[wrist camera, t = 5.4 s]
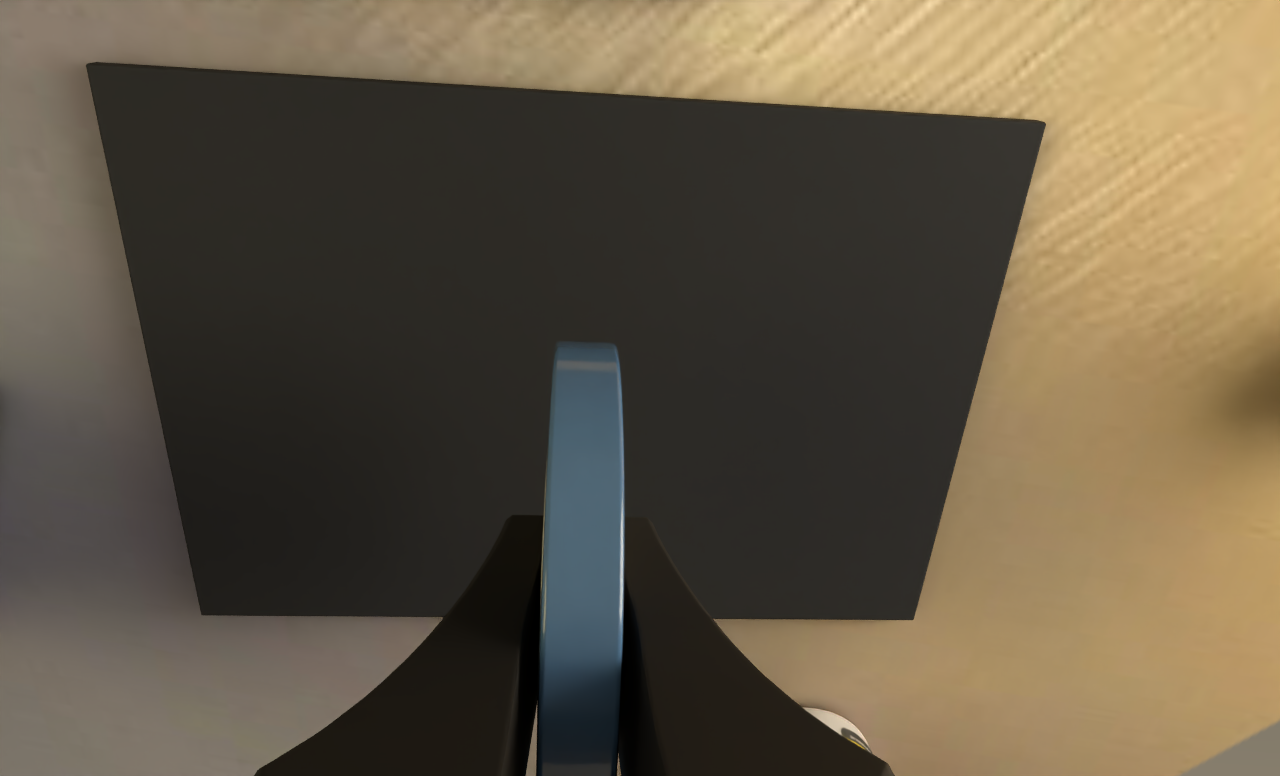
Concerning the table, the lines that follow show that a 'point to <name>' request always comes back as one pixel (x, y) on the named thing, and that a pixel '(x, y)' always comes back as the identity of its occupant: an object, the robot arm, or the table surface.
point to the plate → (582, 565)
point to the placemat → (553, 326)
